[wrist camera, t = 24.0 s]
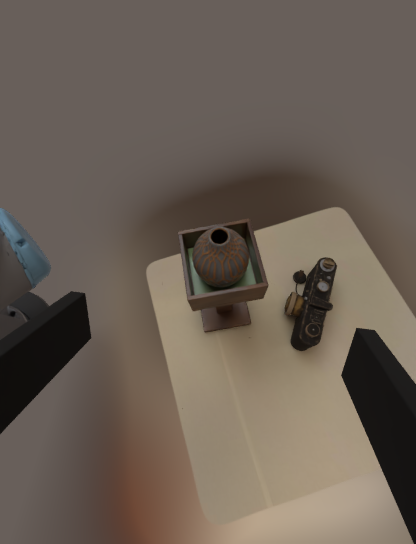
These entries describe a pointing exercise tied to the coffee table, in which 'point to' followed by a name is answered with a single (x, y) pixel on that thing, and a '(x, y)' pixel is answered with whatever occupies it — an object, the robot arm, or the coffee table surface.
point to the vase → (220, 257)
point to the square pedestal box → (223, 300)
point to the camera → (311, 304)
